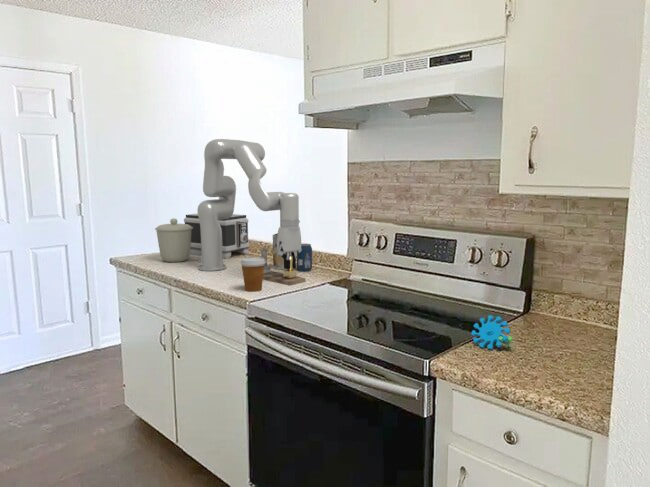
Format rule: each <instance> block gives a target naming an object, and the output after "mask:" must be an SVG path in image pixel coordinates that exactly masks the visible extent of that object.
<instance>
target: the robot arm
mask: <svg viewBox="0 0 650 487" xmlns="http://www.w3.org/2000/svg"><path fill="white" fill-rule="evenodd" d="M203 157H204V171H203V180H202V182H203V183H202V192H203V194H204V196H206V197H207V198H208V197H209V198H214V199H206V200H203V201H200V202H199V204H198V206H197V214H198V217H199V221H200V231H201V256H200V258H199V259H198V262H199V263H200V265H198V270H199V271H202V272H203V271H205V272H210V271H211V272H214V271H223V270H225V269H226V268H227V265H226V264H224V260H223V252H222V229H221V226H220V224H219V222H218V220H223V219H228V218H230V217H231V216H232V215H233V214H234V210H235V203H236V194H237V187H236V186H237V185H236V182H235V180H234V179H233V178H232V177H231V176H229V175H224V173H225V167H224V166H225V165H224V163H223V161H222V160H236V161H237V163H239V166H240V167H241V169H242V170H243V172H244V174H245V175H246V176H247V178H248V181H247V185H248V186H247V187H248V193H249V196H250V198H251V200H252V201H253V203H254V204H255V205H256V207H257V208H258V209H259V210H260V211H261V212H270V211H271V212H272V211H279V222H280V224H279V225H280V226H279V227H278V230H277V233H278V235H277V251H278V253H277V254H278V255H280V256H281V257H282V258H283V259H284V269H290V260H289V252H290V255H292V256H293V268H294V269H297V255H298V254H299V253H300V252H301V251H302V249H301V244H302V232H301V228H300V223H301V220H300V219H299V218H300V214H299V213H300V208H299V207H300V202H299V198H300V197H299V194H297V193H296V192H283V191H269V192H267V191H266V190H265V189H264V187H263V185H262V183H261V179H262V178H263V177H264V176H266V174H267V170H268V169H267V167H266V166H265V164H264V163H263V162H262V161H263V160H264V159H265V157H266V151H265V148H264V147H263V145H262V144H260V143H259V142H253V141H247V140H240V139H229V138H215V139H212V140H210V141H208V142H207V144H206V145H205V147H204V152H203ZM215 198H217V199H215ZM282 251H283V253H282ZM293 252H294V253H293Z"/></svg>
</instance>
